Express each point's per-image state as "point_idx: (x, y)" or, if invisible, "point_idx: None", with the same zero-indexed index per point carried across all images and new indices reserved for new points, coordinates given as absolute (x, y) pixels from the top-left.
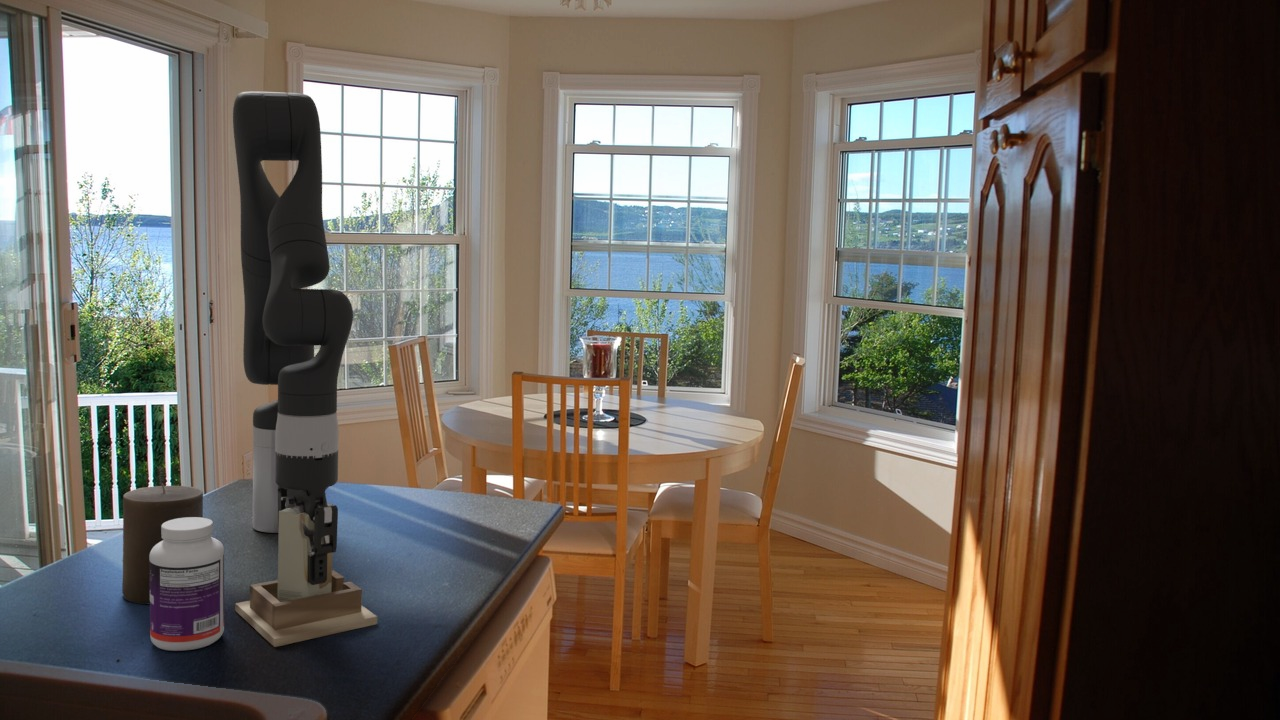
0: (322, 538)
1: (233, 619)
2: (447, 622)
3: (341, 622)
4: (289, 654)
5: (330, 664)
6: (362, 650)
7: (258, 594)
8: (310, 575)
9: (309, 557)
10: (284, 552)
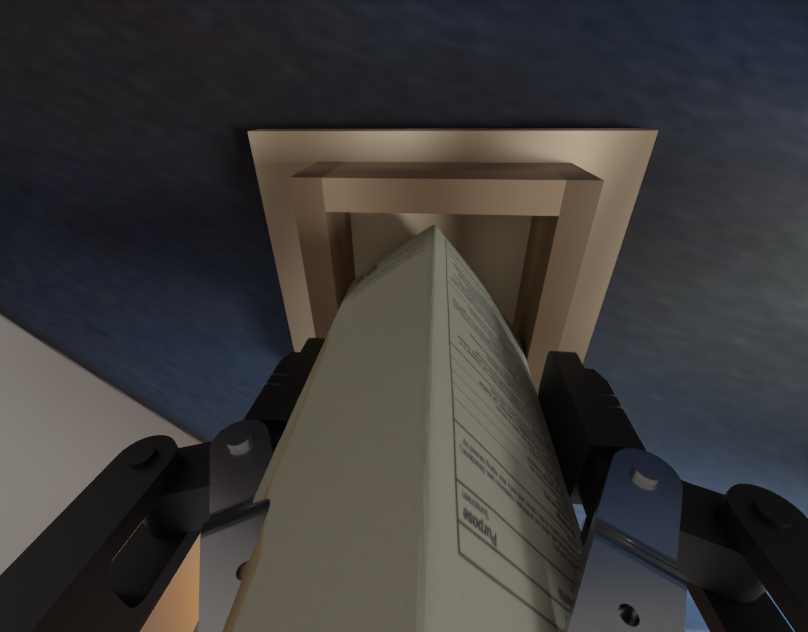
0: None
1: (570, 91)
2: None
3: (300, 328)
4: (195, 149)
5: (106, 215)
6: (174, 304)
7: (486, 176)
8: (298, 357)
9: (270, 414)
10: (388, 359)
